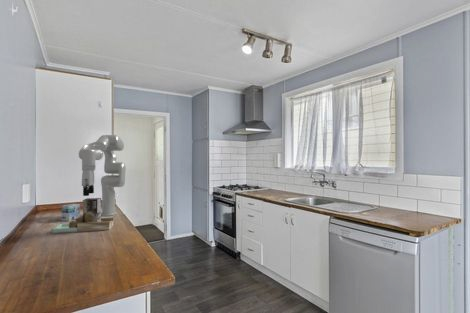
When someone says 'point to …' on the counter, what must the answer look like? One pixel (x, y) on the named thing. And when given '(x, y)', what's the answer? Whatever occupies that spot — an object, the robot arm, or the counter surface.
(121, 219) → the counter surface
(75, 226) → the chip
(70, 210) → the light bulb box
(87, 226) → the channel
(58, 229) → the tray
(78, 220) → the brown cube
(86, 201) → the coffee box
